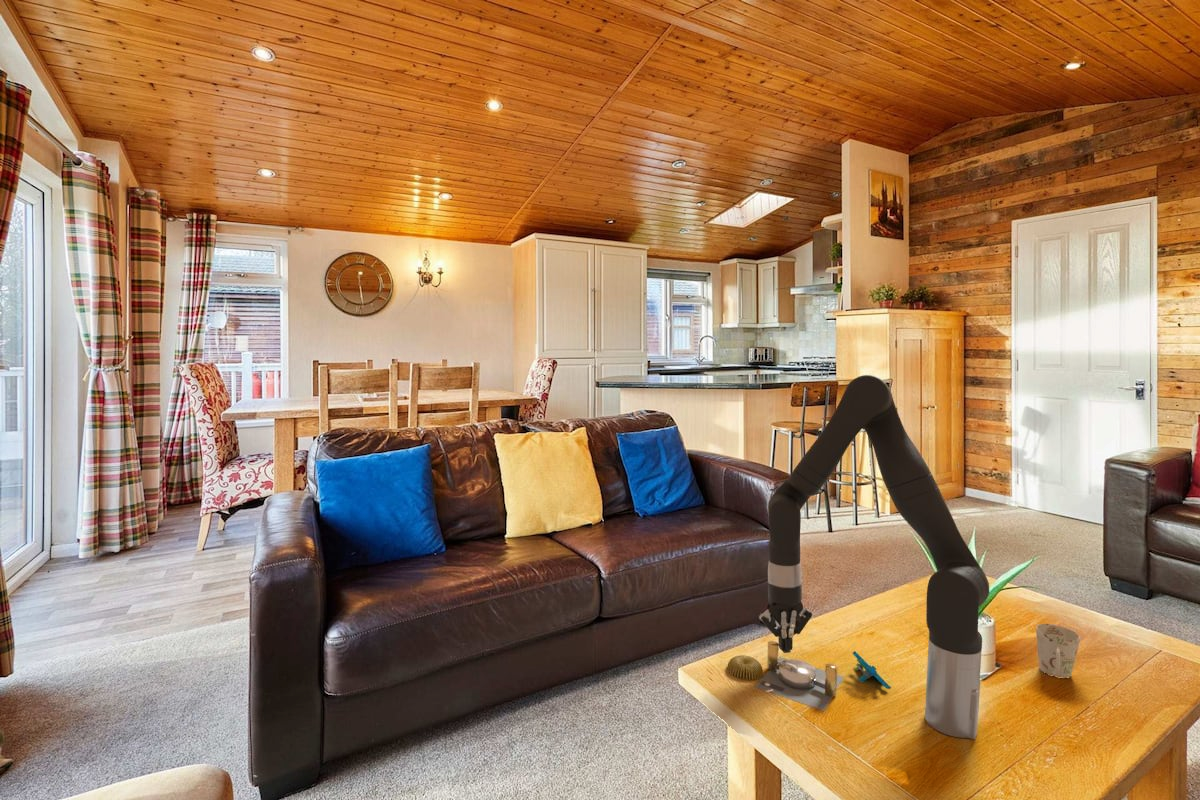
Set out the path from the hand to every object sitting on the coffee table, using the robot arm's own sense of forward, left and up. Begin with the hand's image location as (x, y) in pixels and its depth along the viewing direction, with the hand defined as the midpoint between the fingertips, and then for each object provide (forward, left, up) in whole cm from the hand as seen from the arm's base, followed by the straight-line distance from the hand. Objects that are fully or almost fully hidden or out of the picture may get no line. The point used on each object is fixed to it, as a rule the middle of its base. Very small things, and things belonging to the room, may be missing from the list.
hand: (785, 651), depth 141 cm
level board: (-5, +4, -6) cm, 8 cm away
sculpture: (+7, +7, -6) cm, 11 cm away
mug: (-52, -36, -6) cm, 64 cm away
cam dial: (-5, +4, -4) cm, 7 cm away
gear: (-17, -7, -6) cm, 19 cm away
